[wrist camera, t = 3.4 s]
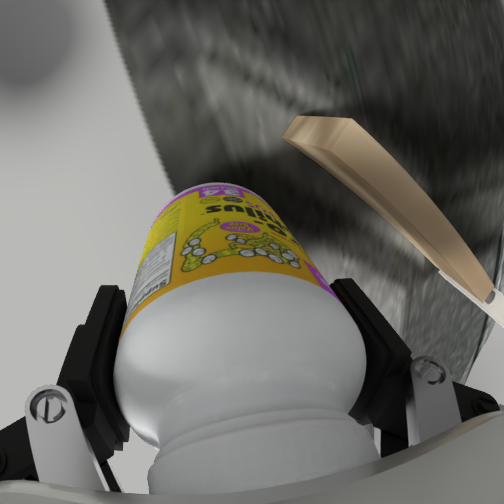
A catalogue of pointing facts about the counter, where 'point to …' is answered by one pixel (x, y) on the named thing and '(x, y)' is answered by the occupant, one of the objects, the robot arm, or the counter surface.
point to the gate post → (498, 309)
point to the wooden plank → (389, 194)
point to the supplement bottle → (237, 352)
